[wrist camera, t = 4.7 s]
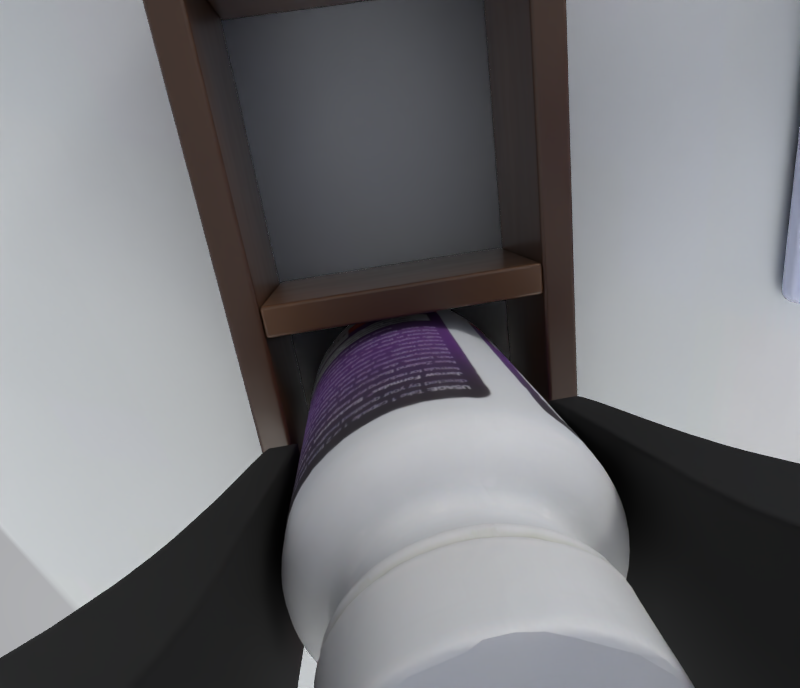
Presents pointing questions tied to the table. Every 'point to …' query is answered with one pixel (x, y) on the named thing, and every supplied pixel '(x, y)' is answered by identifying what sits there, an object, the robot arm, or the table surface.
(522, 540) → the pill bottle
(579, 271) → the table surface
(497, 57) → the rack
